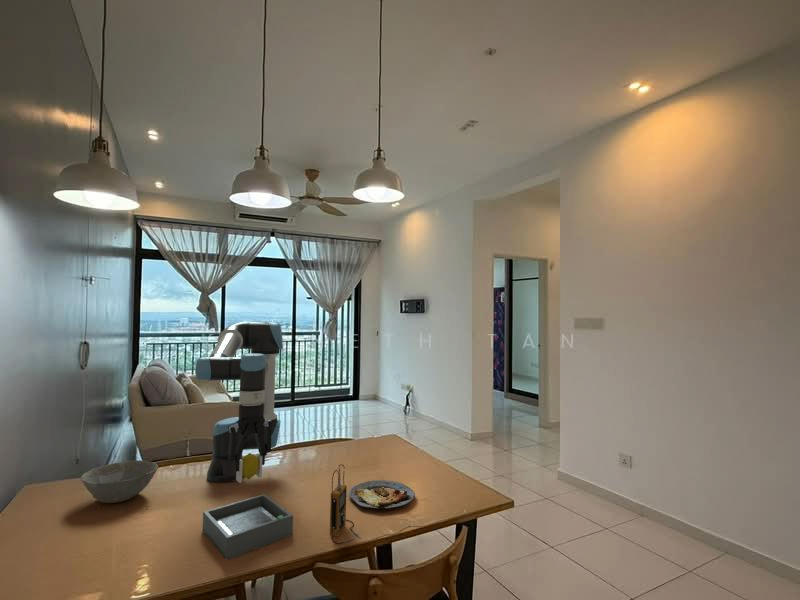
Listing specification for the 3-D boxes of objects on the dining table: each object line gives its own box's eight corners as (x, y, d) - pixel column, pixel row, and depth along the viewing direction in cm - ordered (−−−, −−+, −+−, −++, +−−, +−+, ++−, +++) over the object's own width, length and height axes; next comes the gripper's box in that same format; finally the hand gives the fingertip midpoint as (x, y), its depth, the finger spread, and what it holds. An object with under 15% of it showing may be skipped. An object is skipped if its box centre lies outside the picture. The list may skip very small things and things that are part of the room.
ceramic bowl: (164, 498, 149) (166, 470, 149) (86, 520, 132) (88, 489, 132) (146, 481, 164) (147, 455, 164) (73, 498, 147) (75, 470, 147)
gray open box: (202, 531, 127) (203, 509, 127) (264, 511, 140) (264, 492, 141) (226, 560, 112) (227, 536, 112) (292, 535, 125) (293, 513, 126)
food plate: (426, 504, 148) (426, 494, 148) (368, 520, 136) (368, 509, 137) (392, 482, 170) (392, 473, 170) (340, 493, 158) (340, 484, 158)
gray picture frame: (213, 523, 127) (214, 519, 127) (260, 508, 137) (260, 505, 137) (232, 543, 116) (232, 539, 116) (281, 526, 126) (281, 522, 126)
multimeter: (356, 547, 120) (358, 478, 121) (324, 542, 122) (326, 474, 123) (370, 523, 134) (371, 461, 135) (341, 519, 136) (343, 458, 137)
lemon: (242, 475, 130) (243, 450, 130) (260, 475, 130) (261, 450, 130) (236, 483, 124) (237, 456, 124) (255, 482, 124) (256, 456, 125)
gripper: (226, 409, 119) (222, 490, 118) (284, 401, 132) (282, 474, 131) (217, 405, 124) (213, 482, 123) (274, 398, 137) (271, 468, 136)
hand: (249, 478), depth 127 cm, fingers closed on lemon, 5 cm apart
